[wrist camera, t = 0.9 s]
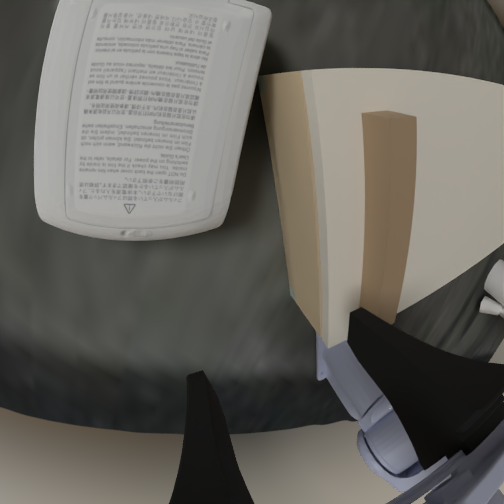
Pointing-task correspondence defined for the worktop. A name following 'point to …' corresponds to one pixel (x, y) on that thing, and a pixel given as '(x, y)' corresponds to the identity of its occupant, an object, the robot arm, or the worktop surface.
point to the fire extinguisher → (494, 290)
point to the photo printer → (145, 114)
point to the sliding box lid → (401, 185)
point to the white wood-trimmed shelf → (502, 307)
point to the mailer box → (294, 187)
